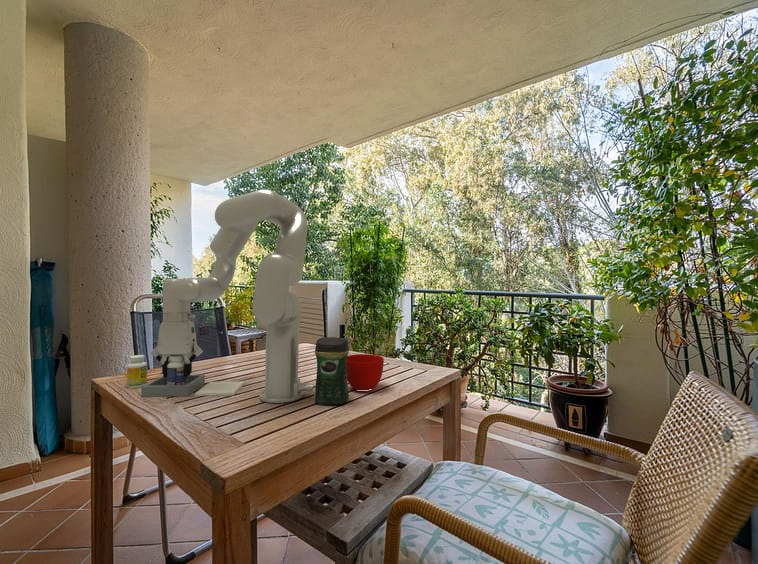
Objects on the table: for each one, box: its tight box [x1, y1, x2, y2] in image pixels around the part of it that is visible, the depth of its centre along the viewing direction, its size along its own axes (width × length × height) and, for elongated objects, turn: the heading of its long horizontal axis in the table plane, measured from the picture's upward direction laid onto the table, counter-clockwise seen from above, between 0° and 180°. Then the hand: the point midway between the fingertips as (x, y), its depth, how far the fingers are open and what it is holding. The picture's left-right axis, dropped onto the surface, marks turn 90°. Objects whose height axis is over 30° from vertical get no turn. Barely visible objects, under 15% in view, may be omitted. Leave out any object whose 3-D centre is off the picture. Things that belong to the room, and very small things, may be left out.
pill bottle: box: [167, 355, 187, 385], centre depth 112 cm, size 5×5×10 cm
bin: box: [140, 374, 206, 398], centre depth 112 cm, size 13×13×3 cm
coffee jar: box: [314, 336, 350, 405], centre depth 104 cm, size 10×8×19 cm
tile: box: [194, 381, 246, 397], centre depth 113 cm, size 11×12×1 cm
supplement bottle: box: [126, 354, 148, 389], centre depth 116 cm, size 5×5×10 cm
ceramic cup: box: [346, 353, 385, 390], centre depth 119 cm, size 13×17×10 cm
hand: (177, 375), depth 112 cm, fingers closed on pill bottle, 5 cm apart
